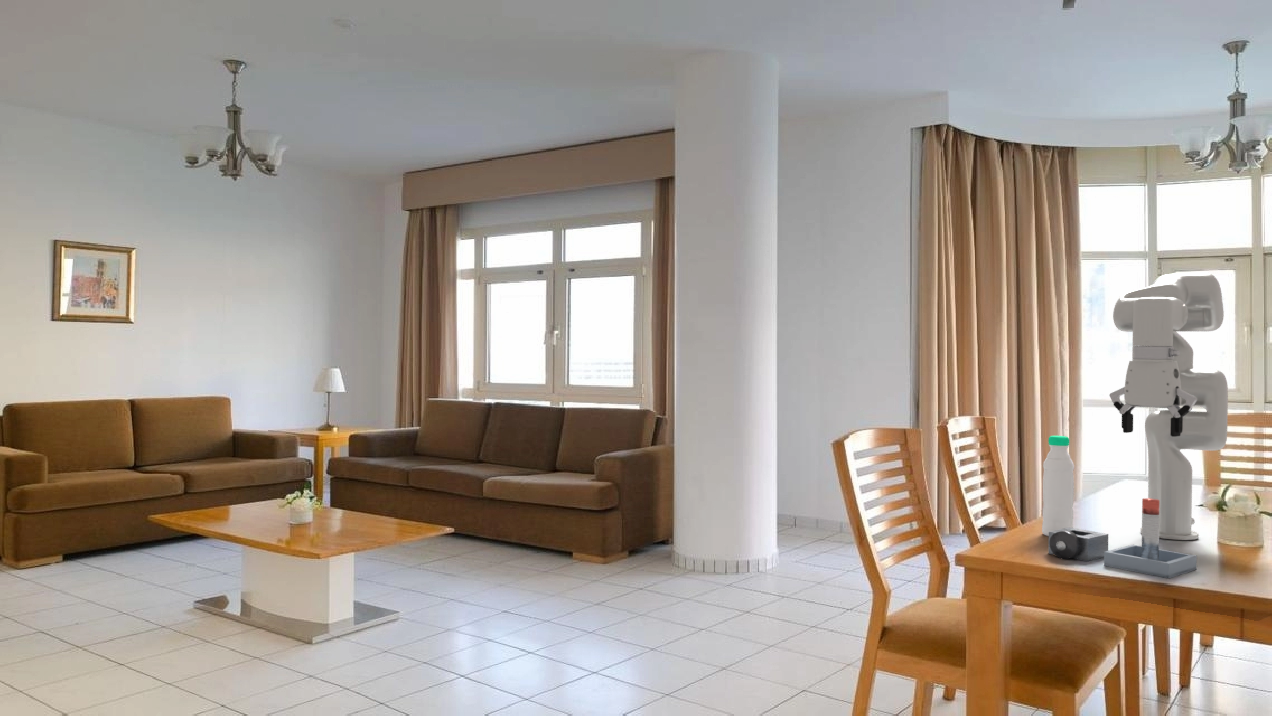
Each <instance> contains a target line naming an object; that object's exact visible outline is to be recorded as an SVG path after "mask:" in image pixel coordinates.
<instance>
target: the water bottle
mask: <svg viewBox="0 0 1272 716" xmlns="http://www.w3.org/2000/svg"><path fill="white" fill-rule="evenodd" d="M1047 441H1048V446H1049V448H1050V450H1049V452H1048V453H1047V455H1046V458H1045V459H1044V461H1043V462H1042V468H1043V474H1042V475H1043V476H1042V477H1043V478H1042V504H1043V505H1042V523H1041V524H1042V525H1041V526H1042V527H1041V528H1042V529H1041V532H1042V534H1043V535H1044V536H1046V537H1049V532H1050V531H1055V530H1059V529H1064V528H1069V527H1070V528H1074V524H1073V520H1074V508H1073V505H1074V495H1075V494H1074V493H1075V487H1074V485H1075V481H1074V480H1075V478H1074V469H1075V464H1074V462H1073V459H1072V458H1071V454H1070V453H1069V452H1068V448H1069V445H1070V438H1069V437H1068V436H1064V435H1050V436H1049V437H1048V440H1047Z"/></svg>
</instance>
